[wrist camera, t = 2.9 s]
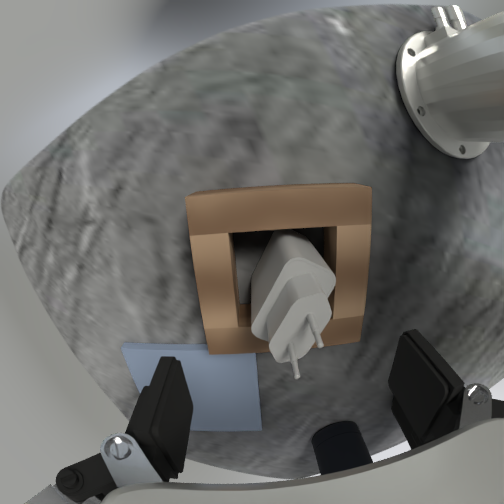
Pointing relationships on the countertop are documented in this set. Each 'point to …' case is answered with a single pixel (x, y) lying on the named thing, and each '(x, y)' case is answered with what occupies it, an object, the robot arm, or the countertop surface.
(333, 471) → the black water bottle
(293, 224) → the walnut collar
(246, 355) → the blue square plate
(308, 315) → the power adapter
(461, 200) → the countertop surface
